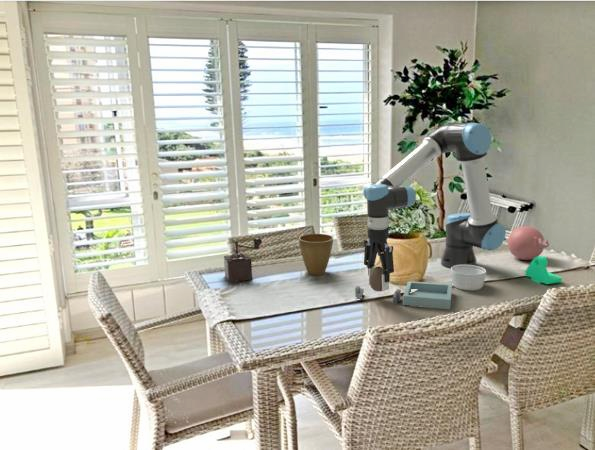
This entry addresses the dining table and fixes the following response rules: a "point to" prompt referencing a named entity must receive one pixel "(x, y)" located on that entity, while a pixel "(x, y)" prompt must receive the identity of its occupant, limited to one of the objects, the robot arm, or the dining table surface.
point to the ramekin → (468, 277)
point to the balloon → (526, 243)
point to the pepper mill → (239, 263)
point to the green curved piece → (541, 271)
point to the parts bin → (428, 295)
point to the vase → (376, 279)
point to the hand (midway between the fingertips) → (378, 286)
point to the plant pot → (316, 252)
